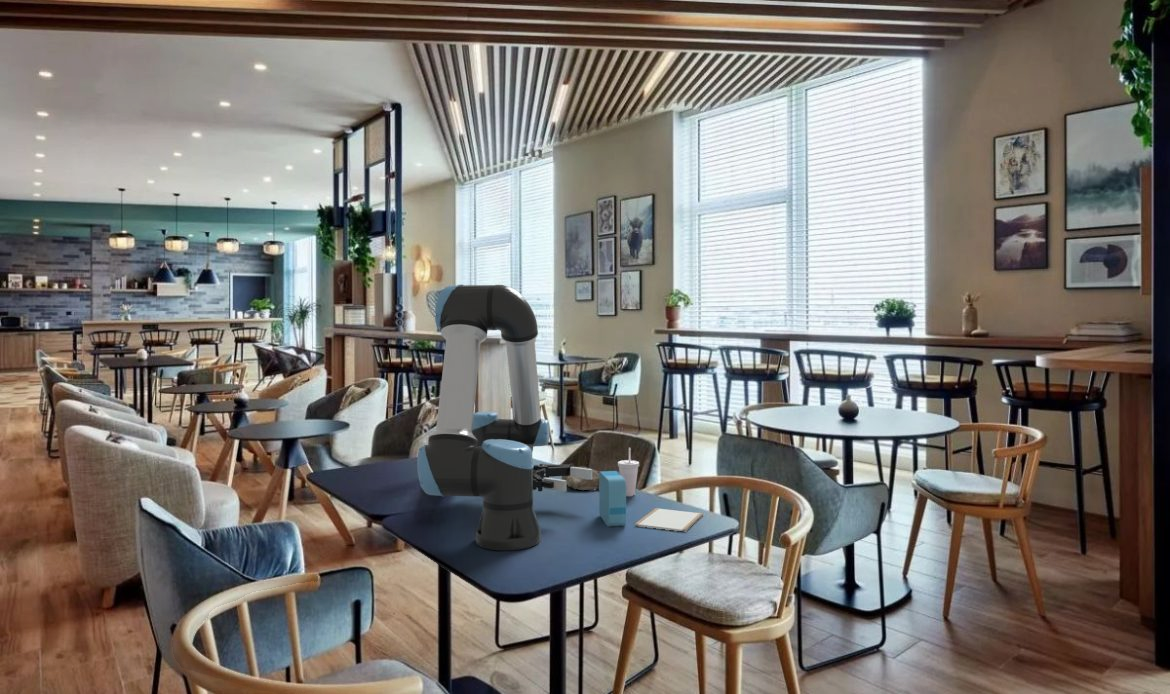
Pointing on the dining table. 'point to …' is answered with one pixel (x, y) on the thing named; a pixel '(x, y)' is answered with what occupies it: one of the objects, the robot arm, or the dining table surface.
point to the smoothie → (629, 474)
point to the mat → (669, 519)
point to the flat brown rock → (583, 481)
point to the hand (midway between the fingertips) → (579, 480)
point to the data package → (612, 498)
